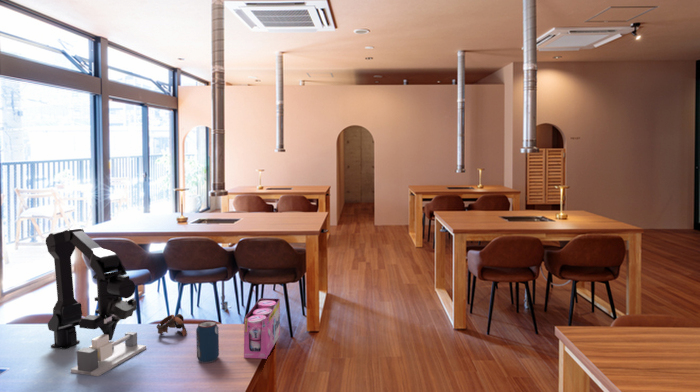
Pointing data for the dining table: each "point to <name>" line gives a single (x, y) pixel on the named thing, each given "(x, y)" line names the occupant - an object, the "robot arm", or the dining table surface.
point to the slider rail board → (120, 353)
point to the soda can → (207, 341)
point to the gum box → (261, 328)
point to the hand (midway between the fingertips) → (109, 340)
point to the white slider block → (102, 346)
